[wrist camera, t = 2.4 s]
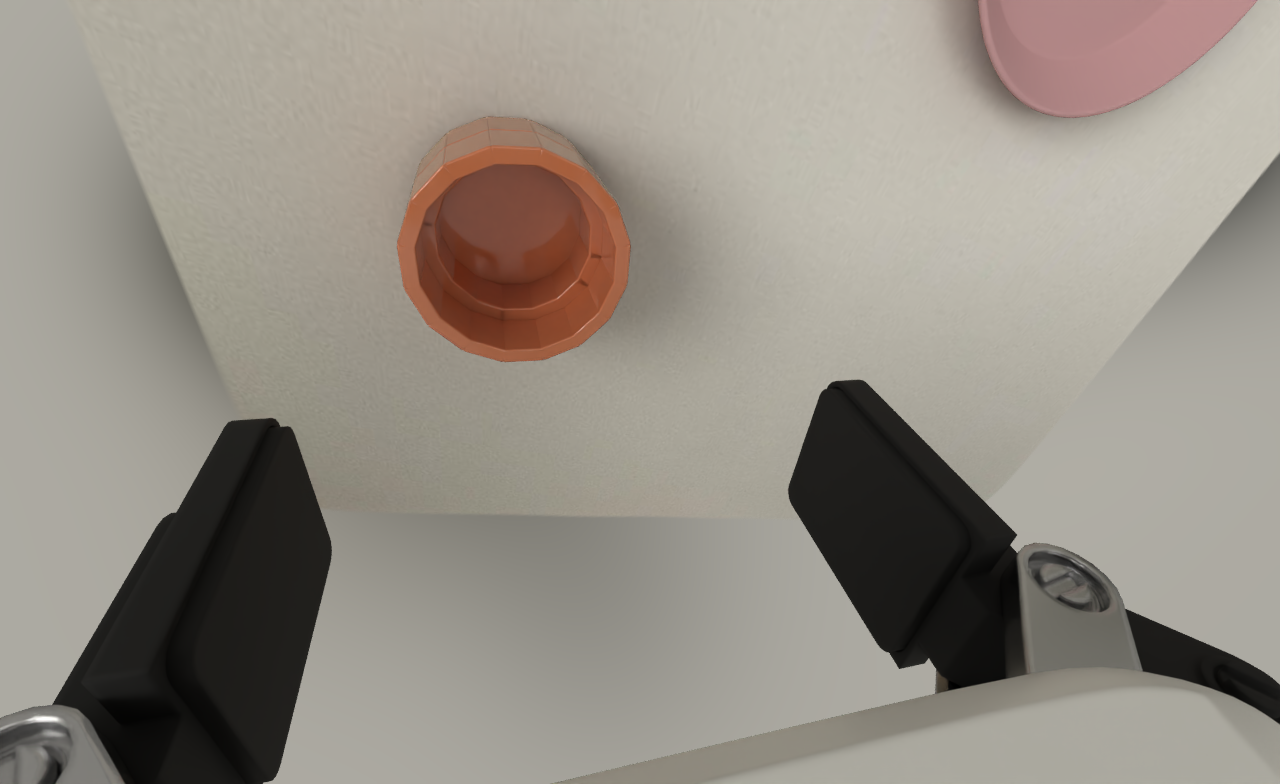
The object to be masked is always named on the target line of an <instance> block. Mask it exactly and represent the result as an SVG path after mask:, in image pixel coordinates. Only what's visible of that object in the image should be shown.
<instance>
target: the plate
mask: <svg viewBox="0 0 1280 784" xmlns="http://www.w3.org/2000/svg"><path fill="white" fill-rule="evenodd" d="M1256 2H1257V0H978V6H979V16H980V23H981V29H982V34H983V38H984V42H985V46H986V49H987V52H988V55H989V58H990V60H991V62H992V65H993V67H994V69H995V71H996V73H997V74H998V76H999V78H1000V79H1001V81H1002V82H1003V84H1004V85H1005V86H1006V87H1007V89H1008V90H1009V91H1010V92H1011V93H1012V94H1013V95H1014V96H1015V97H1016V98H1017V99H1018V100H1020V101H1021V102H1022V103H1024V104H1025V105H1027V106H1028V107H1030V108H1032V109H1034V110H1036V111H1039V112H1041V113H1044V114H1048V115H1051V116H1057V117H1067V118H1076V117H1087V116H1093V115H1097V114H1102V113H1105V112H1109V111H1112V110H1115V109H1118V108H1121V107H1123V106H1126V105H1128V104H1130V103H1132V102H1135V101H1137V100H1139V99H1141V98H1143V97H1144V96H1146V95H1148V94H1150V93H1152V92H1153V91H1155V90H1157V89H1158V88H1160V87H1162V86H1163V85H1165V84H1166V83H1168V82H1169V81H1171V80H1172V79H1174V78H1175V77H1176V76H1178V75H1179V74H1181V73H1182V72H1183V71H1185V70H1186V69H1187V68H1189V67H1190V66H1191V65H1192V64H1194V63H1195V62H1196V61H1197V60H1198V59H1200V58H1201V57H1202V56H1203V55H1204V54H1205V53H1207V52H1208V51H1209V50H1210V49H1211V48H1212V47H1213V46H1214V45H1215V44H1217V43H1218V42H1219V41H1220V40H1221V39H1222V38H1223V37H1224V36H1225V35H1226V34H1227V33H1228V32H1229V31H1230V30H1231V29H1232V28H1233V27H1234V26H1235V25H1236V24H1237V23H1238V22H1239V21H1240V20H1241V18H1242V17H1243V16H1244V15H1245V14H1246V13H1247V12H1248V11H1249V10H1250V9H1251V7H1252V6H1253V5H1254V4H1255V3H1256Z"/></svg>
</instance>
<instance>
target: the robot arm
mask: <svg viewBox="0 0 1280 784" xmlns="http://www.w3.org/2000/svg"><path fill="white" fill-rule="evenodd" d="M788 494H789V499H790V502H791V504H792V506H793V508H794V509H795V511H796V512H797V514H798V516H799V517H800V519H801V521H802V522H803V524H804V525H805V527H806V529H807V530H808V532H809V534H810V535H811V537H812V538H813V540H814V542H815V543H816V545H817V547H818V548H819V550H820V551H821V553H822V554H823V556H824V558H825V560H826V561H827V563H828V564H829V566H830V568H831V569H832V571H833V573H834V574H835V576H836V578H837V579H838V581H839V582H840V584H841V586H842V587H843V589H844V591H845V592H846V594H847V595H848V597H849V599H850V600H851V602H852V604H853V605H854V607H855V608H856V610H857V612H858V613H859V615H860V617H861V618H862V620H863V621H864V623H865V625H866V626H867V628H868V629H869V631H870V633H871V634H872V636H873V638H874V639H875V641H876V643H877V644H878V645H879V646H880V648H881V649H883V650H884V651H886V652H889V653H890V655H891V656H892V658H893V659H894V661H895V663H896V664H897V666H898V668H899V669H901V668H905V667H910V666H915V665H919V664H924V663H925V662H926V661H927V660H928V658H929V659H930V660H931V662H932V663H933V665H934V666H935V668H936V688H935V694H933V695H928V696H924V697H920V698H915V699H911V700H907V701H903V702H898V703H893V704H889V705H885V706H881V707H876V708H872V709H868V710H863V711H859V712H854V713H850V714H845V715H841V716H837V717H832V718H828V719H824V720H819V721H815V722H811V723H807V724H802V725H798V726H793V727H789V728H785V729H781V730H776V731H772V732H768V733H764V734H759V735H755V736H751V737H747V738H742V739H738V740H734V741H729V742H725V743H721V744H717V745H713V746H709V747H704V748H700V749H696V750H692V751H687V752H683V753H679V754H674V755H670V756H666V757H662V758H657V759H653V760H650V761H645V762H641V763H636V764H632V765H628V766H623V767H619V768H615V769H611V770H606V771H602V772H599V773H594V774H590V775H586V776H581V777H577V778H573V779H570V780H565V781H561V782H557V783H552V784H1280V685H1279V684H1278V683H1277V682H1276V681H1275V680H1274V679H1273V678H1271V677H1270V676H1269V675H1267V674H1266V673H1264V672H1263V671H1261V670H1259V669H1258V668H1256V667H1254V666H1252V665H1251V664H1249V663H1247V662H1245V661H1243V660H1241V659H1239V658H1237V657H1235V656H1233V655H1231V654H1229V653H1227V652H1224V651H1222V650H1220V649H1217V648H1215V647H1213V646H1210V645H1208V644H1206V643H1203V642H1201V641H1199V640H1196V639H1194V638H1192V637H1190V636H1187V635H1185V634H1183V633H1180V632H1178V631H1176V630H1173V629H1171V628H1169V627H1166V626H1164V625H1162V624H1159V623H1157V622H1155V621H1152V620H1150V619H1148V618H1145V617H1143V616H1141V615H1139V614H1136V613H1134V612H1132V611H1129V610H1127V609H1125V607H1124V604H1123V600H1122V598H1121V596H1120V594H1119V592H1118V590H1117V588H1116V587H1115V586H1114V584H1113V583H1112V582H1111V581H1110V580H1109V578H1108V577H1107V576H1106V575H1105V574H1104V573H1102V572H1101V571H1100V570H1099V569H1098V568H1097V567H1095V566H1094V565H1093V564H1092V563H1090V562H1088V561H1087V560H1085V559H1084V558H1082V557H1080V556H1079V555H1077V554H1075V553H1073V552H1070V551H1068V550H1066V549H1064V548H1061V547H1057V546H1053V545H1050V544H1043V543H1033V544H1029V545H1025V546H1024V547H1023V548H1022V549H1021V550H1020V551H1019V552H1018V553H1016V551H1015V550H1014V549H1013V548H1012V547H1011V546H1010V544H1011V543H1012V541H1013V540H1014V539H1015V537H1016V536H1017V534H1016V533H1015V532H1014V531H1013V530H1012V529H1011V528H1010V527H1009V526H1008V525H1007V524H1006V523H1005V522H1004V521H1003V520H1002V519H1001V518H1000V517H999V516H998V515H997V514H996V513H995V512H994V511H993V510H992V509H991V508H990V507H989V506H988V505H987V504H986V503H985V502H984V501H983V500H982V499H981V498H980V497H979V496H978V495H977V494H976V493H975V492H974V491H973V490H972V489H971V488H970V487H969V486H968V485H967V484H966V483H965V482H964V481H963V480H962V479H961V478H960V477H959V476H958V475H957V474H956V473H955V472H954V471H953V470H952V469H951V468H950V467H949V466H948V464H947V463H946V462H945V461H944V460H943V459H942V458H941V457H940V456H939V455H938V454H937V453H936V452H935V451H934V450H933V449H932V448H931V447H930V446H929V445H928V444H927V443H926V442H925V441H924V440H923V439H922V438H921V437H920V436H919V435H918V434H917V433H916V432H915V431H914V430H913V429H912V428H911V427H910V426H909V425H908V424H907V423H906V422H905V421H904V420H903V419H902V418H901V417H900V416H899V415H898V414H897V413H896V412H895V411H894V410H893V409H892V408H891V407H890V406H889V405H888V404H887V403H886V402H885V401H884V400H883V399H882V398H881V397H880V396H879V395H878V394H877V393H876V392H875V391H874V390H873V389H872V388H871V387H870V386H869V385H868V384H867V383H866V382H864V381H863V380H846V381H835V382H832V383H831V384H830V385H829V386H828V387H827V389H825V390H823V391H822V392H821V394H820V396H819V399H818V402H817V405H816V408H815V411H814V414H813V417H812V420H811V423H810V426H809V428H808V431H807V434H806V437H805V440H804V443H803V446H802V449H801V452H800V455H799V458H798V461H797V464H796V466H795V469H794V472H793V475H792V478H791V481H790V484H789V488H788ZM331 548H332V547H331V540H330V537H329V534H328V531H327V528H326V525H325V522H324V519H323V516H322V513H321V510H320V507H319V505H318V502H317V499H316V496H315V493H314V490H313V487H312V484H311V481H310V478H309V475H308V472H307V469H306V466H305V464H304V461H303V458H302V455H301V452H300V449H299V446H298V443H297V440H296V437H295V434H294V432H293V430H292V429H291V427H288V426H286V427H280V425H279V423H278V422H277V421H276V419H273V418H267V419H251V420H236V421H231V422H228V423H227V425H226V426H225V427H224V429H223V431H222V433H221V434H220V436H219V438H218V440H217V442H216V444H215V445H214V447H213V449H212V451H211V452H210V454H209V456H208V458H207V459H206V461H205V463H204V465H203V466H202V468H201V470H200V472H199V474H198V475H197V477H196V479H195V481H194V482H193V484H192V486H191V488H190V490H189V491H188V493H187V495H186V497H185V498H184V500H183V502H182V504H181V505H180V507H179V509H178V511H177V512H176V513H171V514H169V515H167V516H166V517H164V518H163V519H162V521H161V522H160V523H159V524H158V526H157V527H156V528H155V530H154V532H153V534H152V536H151V537H150V539H149V540H148V542H147V544H146V546H145V547H144V549H143V551H142V552H141V554H140V556H139V558H138V559H137V561H136V563H135V564H134V566H133V568H132V570H131V571H130V573H129V575H128V576H127V578H126V580H125V581H124V583H123V585H122V587H121V588H120V590H119V592H118V593H117V595H116V597H115V598H114V600H113V602H112V604H111V605H110V607H109V609H108V611H107V612H106V614H105V616H104V617H103V619H102V621H101V623H100V624H99V626H98V628H97V629H96V631H95V633H94V634H93V636H92V638H91V640H90V641H89V643H88V645H87V646H86V648H85V650H84V652H83V653H82V655H81V657H80V658H79V660H78V662H77V664H76V665H75V667H74V668H73V670H72V672H71V674H70V676H69V677H68V679H67V680H66V682H65V684H64V686H63V687H62V689H61V691H60V692H59V694H58V696H57V698H56V699H55V701H54V703H53V704H52V705H48V706H38V707H32V708H28V709H25V710H22V711H19V712H16V713H13V714H10V715H6V716H4V717H2V718H0V784H263V782H269V781H272V780H273V779H274V778H275V777H276V775H277V773H278V771H279V767H280V764H281V760H282V756H283V752H284V748H285V744H286V740H287V736H288V732H289V728H290V724H291V720H292V716H293V712H294V708H295V704H296V700H297V696H298V692H299V688H300V683H301V680H302V676H303V671H304V667H305V663H306V659H307V655H308V651H309V647H310V643H311V639H312V635H313V631H314V627H315V623H316V619H317V615H318V611H319V606H320V603H321V599H322V595H323V591H324V586H325V583H326V578H327V574H328V570H329V566H330V562H331V555H332V554H331V553H332V549H331Z"/></svg>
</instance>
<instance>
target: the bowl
mask: <svg viewBox="0 0 1280 784" xmlns="http://www.w3.org/2000/svg"><path fill="white" fill-rule="evenodd" d="M630 249H631V245H630V240H629V237H628V234H627V231H626V228H625V225H624V222H623V219H622V216H621V213H620V210H619V207H618V204H617V203H616V201H615V200H614V198H613V197H612V195H611V194H610V192H609V191H608V190H607V188H606V187H605V185H604V184H603V182H602V181H601V180H600V178H599V177H598V175H597V174H596V172H595V171H594V169H593V168H592V167H591V165H590V164H589V163H588V162H587V161H586V160H585V158H584V157H583V156H582V155H581V154H580V153H579V152H578V150H577V149H576V148H575V147H574V146H573V145H572V144H571V142H570V141H569V140H568V139H566V138H565V137H564V136H562V135H560V134H558V133H556V132H554V131H552V130H550V129H548V128H546V127H544V126H542V125H540V124H538V123H536V122H534V121H532V120H529V121H528V120H527V119H521V118H503V117H487V118H486V117H484V118H481V119H479V120H476V121H474V122H471V123H468V124H466V125H463V126H461V127H458V128H456V129H453V130H451V131H449V132H448V133H447V134H445V135H444V136H443V137H442V138H441V139H440V141H439V142H438V143H437V144H436V145H435V146H434V147H433V148H432V149H431V150H430V151H429V153H428V154H427V155H426V156H425V157H424V158H423V159H422V161H421V163H420V164H419V167H418V170H417V174H416V177H415V180H414V184H413V187H412V191H411V194H410V197H409V201H408V205H407V208H406V212H405V216H404V219H403V223H402V226H401V230H400V234H399V237H398V241H397V250H398V256H399V262H400V268H401V274H402V281H403V287H404V288H405V291H406V293H407V294H408V296H409V297H410V299H411V300H412V302H413V304H414V305H415V307H416V308H417V310H418V311H419V313H420V314H421V316H422V317H423V319H424V320H425V322H426V324H427V325H429V327H430V328H432V329H433V330H435V331H436V332H437V333H439V334H440V335H442V336H443V337H445V338H446V339H447V340H449V341H450V342H452V343H453V344H454V345H456V346H457V347H459V348H460V349H461V350H464V351H466V352H469V353H473V354H476V355H480V356H483V357H487V358H490V359H494V360H497V361H501V362H503V361H504V362H516V361H535V360H543V359H544V360H545V359H548V358H550V357H553V356H555V355H558V354H560V353H563V352H565V351H568V350H570V349H573V348H575V347H578V346H580V344H583V343H584V342H585V341H586V340H587V339H588V338H589V337H590V336H592V335H593V334H594V333H595V332H596V331H597V330H598V329H599V328H600V327H602V326H603V325H604V324H605V323H606V322H607V321H608V320H609V319H610V318H611V316H612V314H613V312H614V310H615V308H616V306H617V304H618V302H619V300H620V298H621V296H622V294H623V292H624V290H625V288H626V286H627V283H628V273H629V261H630Z"/></svg>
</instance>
